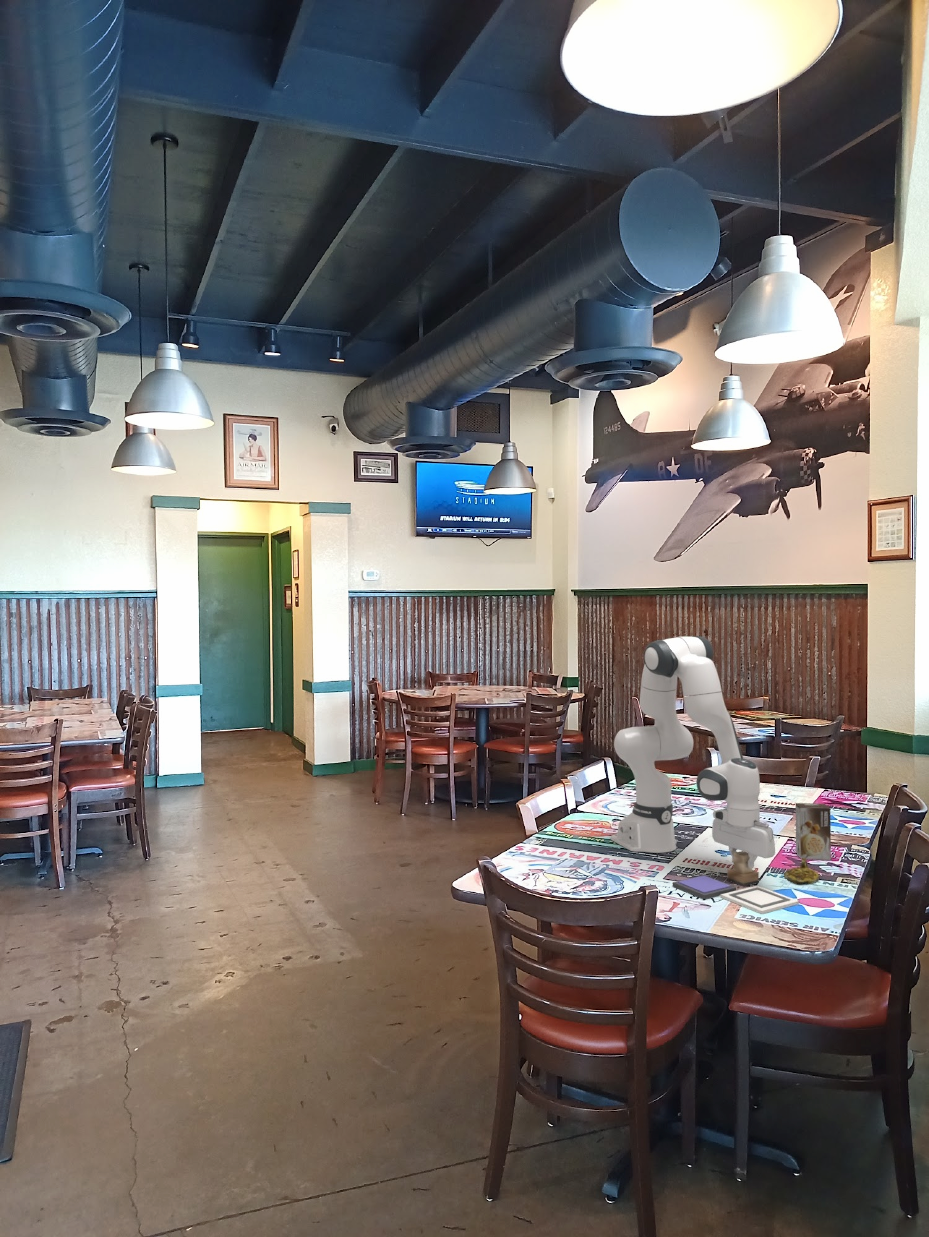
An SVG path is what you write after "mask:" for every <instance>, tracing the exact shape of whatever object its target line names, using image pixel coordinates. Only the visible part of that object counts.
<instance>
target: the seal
mask: <svg viewBox="0 0 929 1237" xmlns="http://www.w3.org/2000/svg"><path fill="white" fill-rule="evenodd" d="M800 860H801V863H800V866H797V867H792V868H788V869H787V870H786V871H785V872H784V874H783V876H784V879H785V880H786V879H787V880H786V881H790V882H789V883H792V884H794V885H807V886H808V885H813V884H816V882H817V883H818V882H819V881H820V874H819V873H818V872H817V871H815V870H814V869H812V868H810V867H808V862H807V860H808V859H806V858H802V859H800Z"/></svg>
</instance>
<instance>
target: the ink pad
mask: <svg viewBox="0 0 929 1237" xmlns="http://www.w3.org/2000/svg"><path fill="white" fill-rule="evenodd" d="M673 886H674V887H673ZM672 887H673V888H675V887H677V888H678V889H677V888H676V889H677V890H680V889H681V890H680V891H683V892H685V893H687V892H688V894H689V895H692V896H694V895H695V896H694V897H697V898H699V897H700V899H702V900H704V899H705V900H708V899H712V898H717V897H721V894H725V893H729V892H733V891H737V887H736V886H735V885H734V886H733V885H731V884H729V883H726V882H723V881H720V880H718V879H715V878H714V877H713V878H712V877H710V876H707V875H705V874H702V875H698V876H694V877H689V878H685V879H680V880H677V881H673V882H672Z"/></svg>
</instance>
